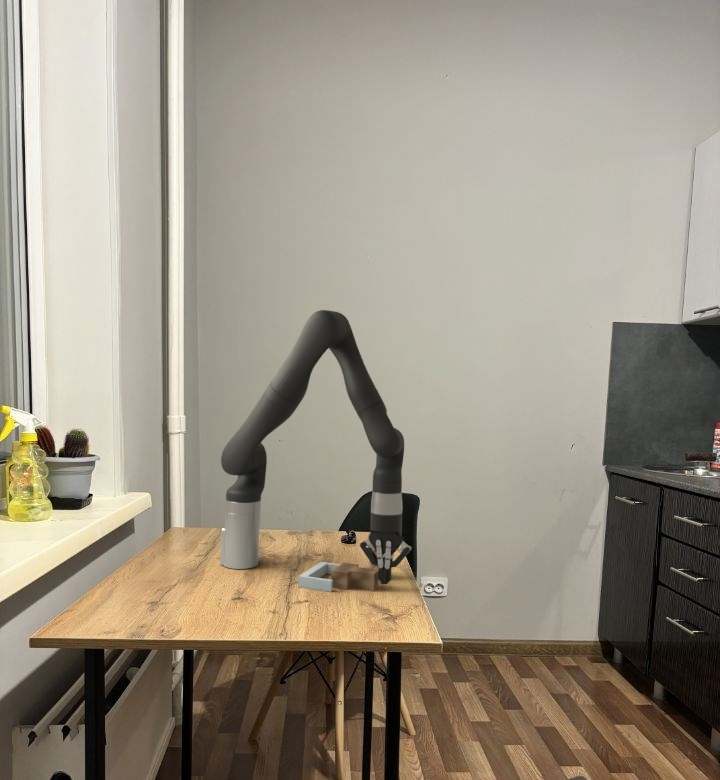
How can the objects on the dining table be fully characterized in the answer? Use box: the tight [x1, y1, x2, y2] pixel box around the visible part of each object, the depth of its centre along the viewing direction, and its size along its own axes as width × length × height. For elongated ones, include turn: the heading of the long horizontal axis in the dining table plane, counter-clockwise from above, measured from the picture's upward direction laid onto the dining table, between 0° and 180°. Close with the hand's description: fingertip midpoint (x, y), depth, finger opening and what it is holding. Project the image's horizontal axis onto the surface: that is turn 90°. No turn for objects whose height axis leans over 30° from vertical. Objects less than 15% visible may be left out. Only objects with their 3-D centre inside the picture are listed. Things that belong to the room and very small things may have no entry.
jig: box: [297, 561, 342, 593], centre depth 143 cm, size 8×14×2 cm, turn 161°
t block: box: [330, 562, 380, 592], centre depth 141 cm, size 10×8×4 cm
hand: (384, 583), depth 138 cm, fingers closed
